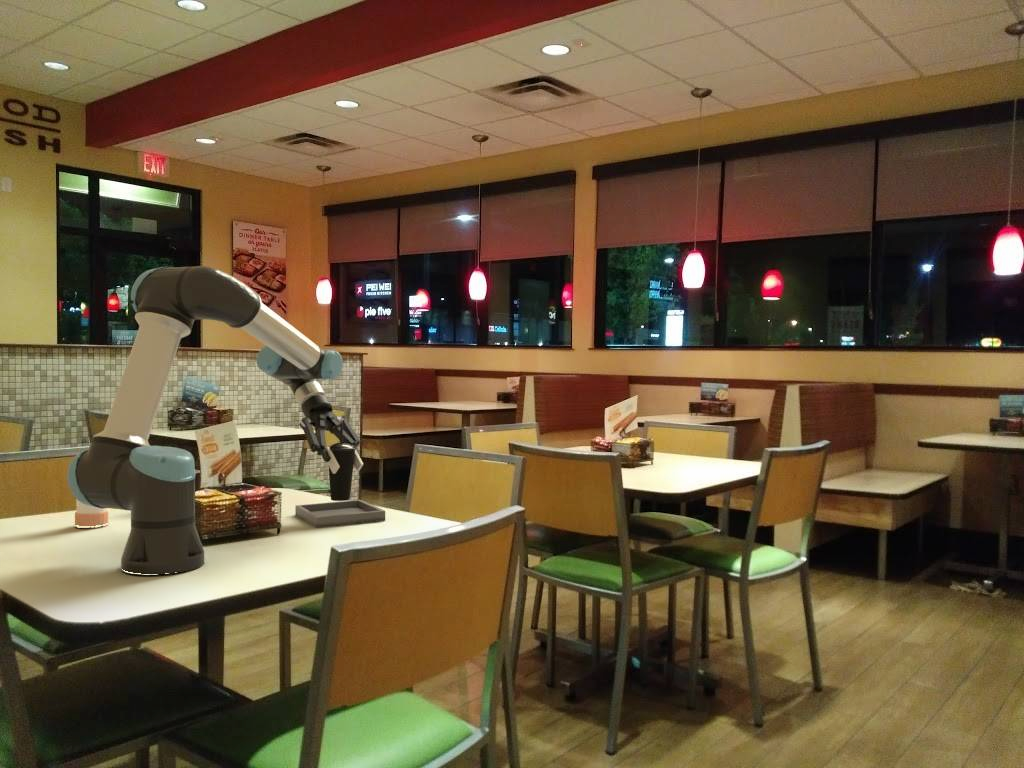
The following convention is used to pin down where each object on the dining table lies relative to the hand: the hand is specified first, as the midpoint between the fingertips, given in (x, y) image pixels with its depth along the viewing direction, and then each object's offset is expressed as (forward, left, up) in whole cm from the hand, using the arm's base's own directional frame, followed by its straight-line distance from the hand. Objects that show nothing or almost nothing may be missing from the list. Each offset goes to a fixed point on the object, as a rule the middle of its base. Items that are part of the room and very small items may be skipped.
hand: (348, 468), depth 202 cm
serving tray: (-1, +3, -13) cm, 13 cm away
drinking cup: (-1, +4, -9) cm, 9 cm away
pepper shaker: (-57, +22, -13) cm, 63 cm away
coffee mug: (-35, +36, -13) cm, 52 cm away
